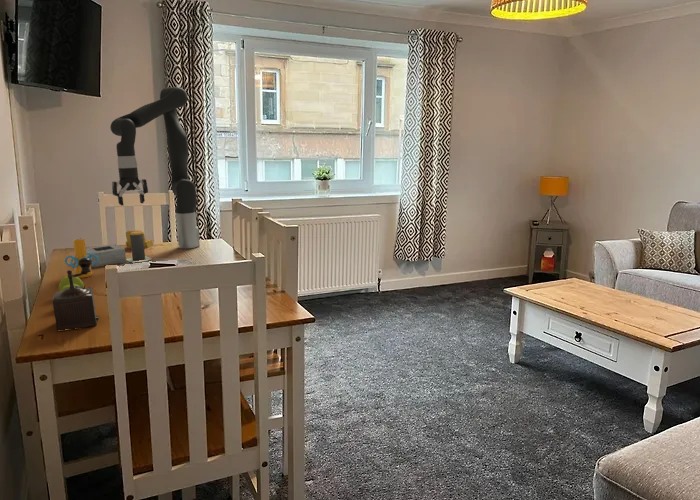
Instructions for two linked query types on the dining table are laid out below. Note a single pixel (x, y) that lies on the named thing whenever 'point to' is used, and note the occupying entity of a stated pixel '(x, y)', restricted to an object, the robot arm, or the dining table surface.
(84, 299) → the coffee grinder
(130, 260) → the mat
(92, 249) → the housing
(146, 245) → the yellow piece
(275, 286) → the dining table surface
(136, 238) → the plug
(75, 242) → the yellow blue looped piece
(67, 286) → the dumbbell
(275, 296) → the dining table surface
